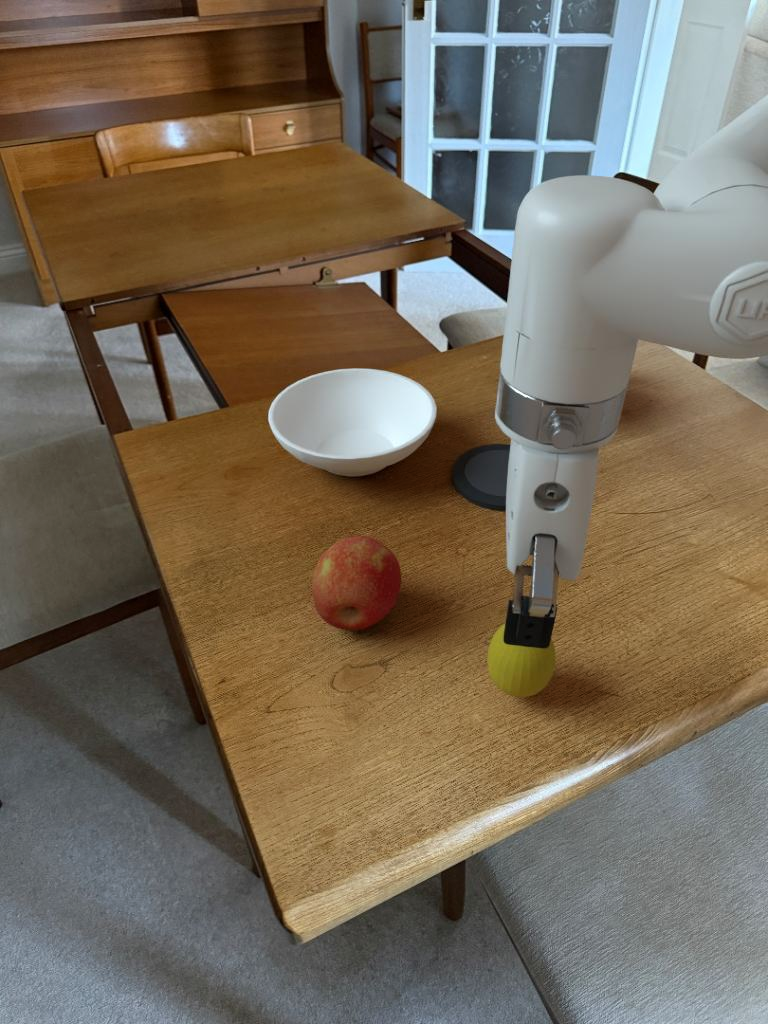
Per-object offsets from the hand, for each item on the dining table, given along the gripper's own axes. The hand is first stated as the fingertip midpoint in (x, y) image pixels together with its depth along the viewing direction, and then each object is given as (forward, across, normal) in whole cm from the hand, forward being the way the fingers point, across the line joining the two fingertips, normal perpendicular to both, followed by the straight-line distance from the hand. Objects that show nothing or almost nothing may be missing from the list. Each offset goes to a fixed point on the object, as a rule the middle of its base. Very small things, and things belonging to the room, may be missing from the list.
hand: (525, 594), depth 56 cm
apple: (+12, +7, +14) cm, 20 cm away
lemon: (+12, 0, -1) cm, 12 cm away
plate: (+12, +30, +1) cm, 32 cm away
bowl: (+12, +32, +19) cm, 39 cm away
